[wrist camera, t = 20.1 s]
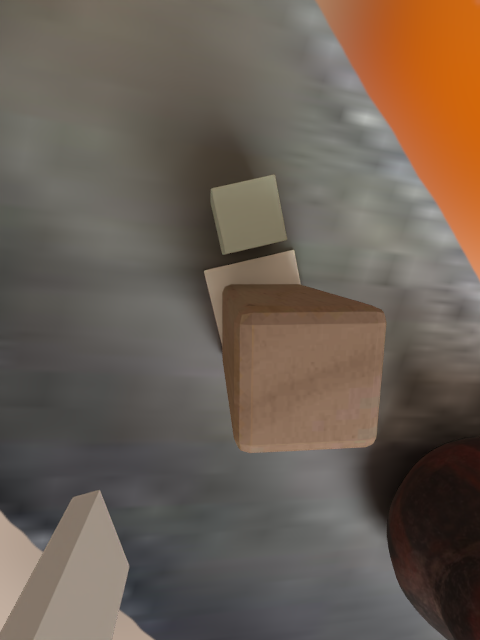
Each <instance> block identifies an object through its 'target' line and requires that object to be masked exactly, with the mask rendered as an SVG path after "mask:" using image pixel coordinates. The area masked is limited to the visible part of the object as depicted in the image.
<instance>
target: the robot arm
mask: <svg viewBox="0 0 480 640" xmlns="http://www.w3.org/2000/svg"><path fill="white" fill-rule="evenodd" d="M128 570H129V564H128V562H127V559H126V556H125V554H124V551H123V549H122V546H121V544H120V541H119V538H118V536H117V533H116V531H115V528H114V526H113V523H112V520H111V518H110V515H109V513H108V510H107V508H106V505H105V502H104V500H103V497H102V495H101V492H100V490H97V491H94V492H90V493H87V494H83V495H79V496H76V497H73V498H72V500H71V502H70V504H69V505H68V507H67V509H66V511H65V513H64V515H63V517H62V518H61V520H60V522H59V524H58V526H57V528H56V530H55V531H54V533H53V535H52V537H51V539H50V541H49V543H48V544H47V546H46V548H45V550H44V552H43V554H42V556H41V558H40V559H39V561H38V563H37V565H36V567H35V569H34V571H33V573H32V574H31V576H30V578H29V580H28V582H27V584H26V585H25V587H24V589H23V591H22V593H21V595H20V597H19V598H18V600H17V602H16V604H15V606H14V608H13V610H12V611H11V613H10V615H9V617H8V619H7V621H6V623H5V624H4V626H3V628H2V630H1V632H0V640H112V637H113V633H114V628H115V624H116V620H117V616H118V612H119V608H120V603H121V599H122V595H123V591H124V587H125V583H126V578H127V574H128Z"/></svg>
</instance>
